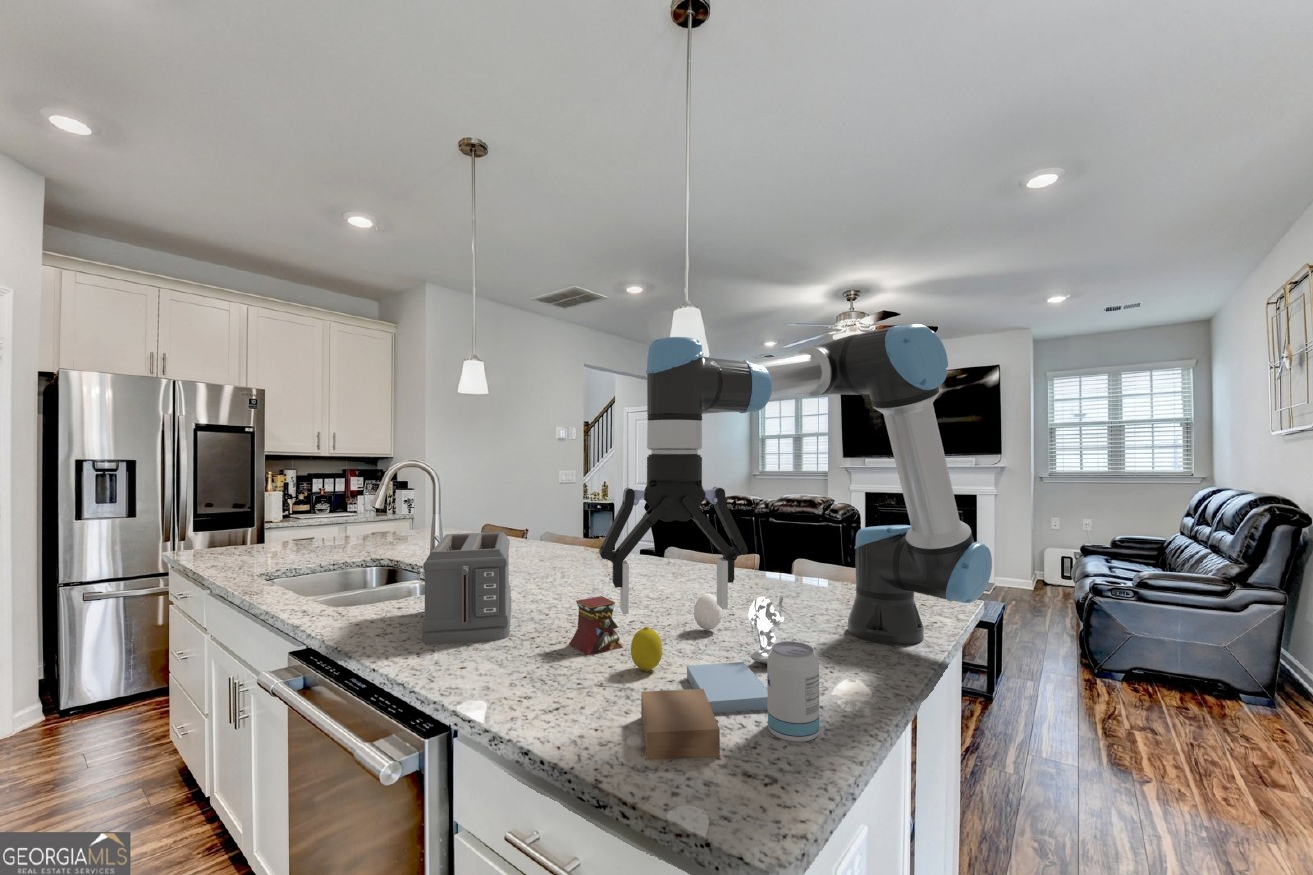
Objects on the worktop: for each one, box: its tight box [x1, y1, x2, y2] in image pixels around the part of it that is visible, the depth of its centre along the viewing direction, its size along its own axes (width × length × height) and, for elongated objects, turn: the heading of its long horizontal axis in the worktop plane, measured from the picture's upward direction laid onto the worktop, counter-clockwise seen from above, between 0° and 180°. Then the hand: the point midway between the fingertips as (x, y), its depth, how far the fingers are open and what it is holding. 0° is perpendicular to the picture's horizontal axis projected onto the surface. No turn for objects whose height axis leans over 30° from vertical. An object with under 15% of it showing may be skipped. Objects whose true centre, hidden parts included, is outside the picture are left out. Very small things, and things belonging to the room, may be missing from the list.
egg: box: [693, 593, 723, 631], centre depth 127 cm, size 6×6×8 cm
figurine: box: [748, 595, 785, 665], centre depth 107 cm, size 9×6×12 cm
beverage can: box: [766, 641, 821, 743], centre depth 80 cm, size 7×7×12 cm
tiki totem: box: [568, 595, 624, 656], centre depth 116 cm, size 9×9×9 cm
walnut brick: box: [640, 688, 721, 761], centre depth 78 cm, size 9×12×5 cm
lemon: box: [630, 626, 663, 672], centre depth 103 cm, size 6×6×8 cm
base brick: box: [686, 661, 768, 714], centre depth 93 cm, size 10×14×3 cm
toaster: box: [421, 531, 512, 645], centre depth 131 cm, size 17×31×19 cm, turn 13°
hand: (674, 609), depth 80 cm, fingers open, 13 cm apart
